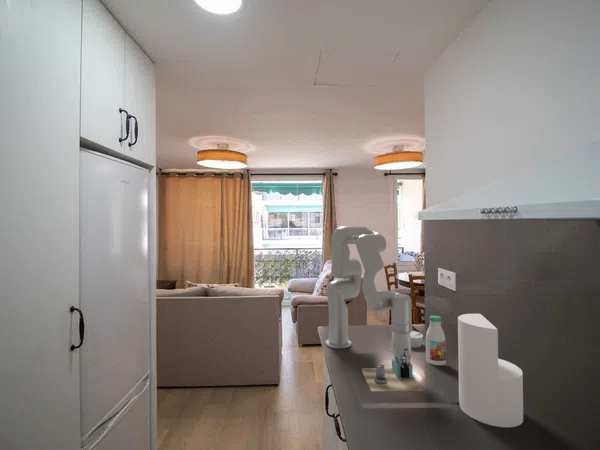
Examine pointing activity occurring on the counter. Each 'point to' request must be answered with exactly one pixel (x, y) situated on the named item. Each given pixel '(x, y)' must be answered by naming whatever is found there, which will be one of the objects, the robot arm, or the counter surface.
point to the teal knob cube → (396, 367)
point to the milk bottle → (435, 342)
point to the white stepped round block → (487, 375)
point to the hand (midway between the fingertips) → (402, 373)
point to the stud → (380, 375)
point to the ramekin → (416, 339)
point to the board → (390, 381)
